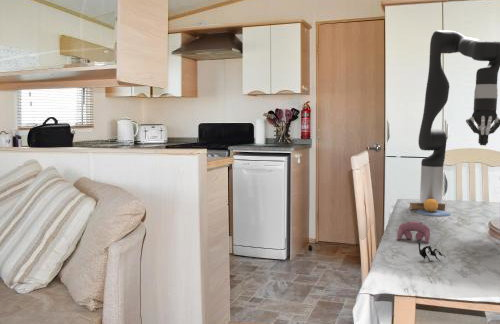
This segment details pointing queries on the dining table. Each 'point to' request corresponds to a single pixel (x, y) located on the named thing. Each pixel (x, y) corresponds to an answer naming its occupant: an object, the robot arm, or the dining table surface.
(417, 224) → the video game controller
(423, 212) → the mark
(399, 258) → the dining table surface
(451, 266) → the dining table surface
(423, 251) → the creature
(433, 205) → the ball
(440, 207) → the strip
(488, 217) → the dining table surface
